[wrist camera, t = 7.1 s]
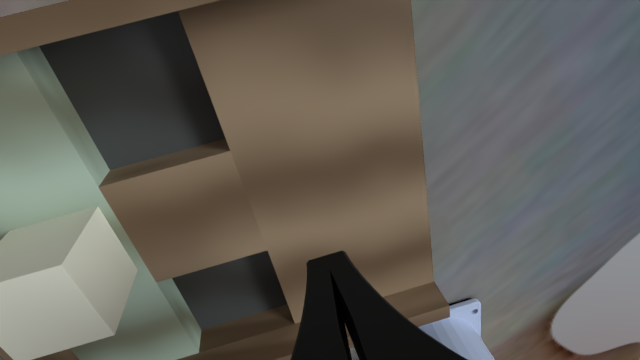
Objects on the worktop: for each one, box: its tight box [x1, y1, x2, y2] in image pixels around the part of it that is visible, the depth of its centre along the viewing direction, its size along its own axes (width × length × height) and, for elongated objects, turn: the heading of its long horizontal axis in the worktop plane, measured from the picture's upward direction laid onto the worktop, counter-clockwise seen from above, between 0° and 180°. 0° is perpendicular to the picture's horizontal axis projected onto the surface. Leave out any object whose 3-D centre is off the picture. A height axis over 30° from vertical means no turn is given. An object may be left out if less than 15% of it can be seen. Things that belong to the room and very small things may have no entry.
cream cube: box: [0, 206, 138, 360], centre depth 16 cm, size 4×4×4 cm
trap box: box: [0, 0, 450, 360], centre depth 18 cm, size 20×22×4 cm
